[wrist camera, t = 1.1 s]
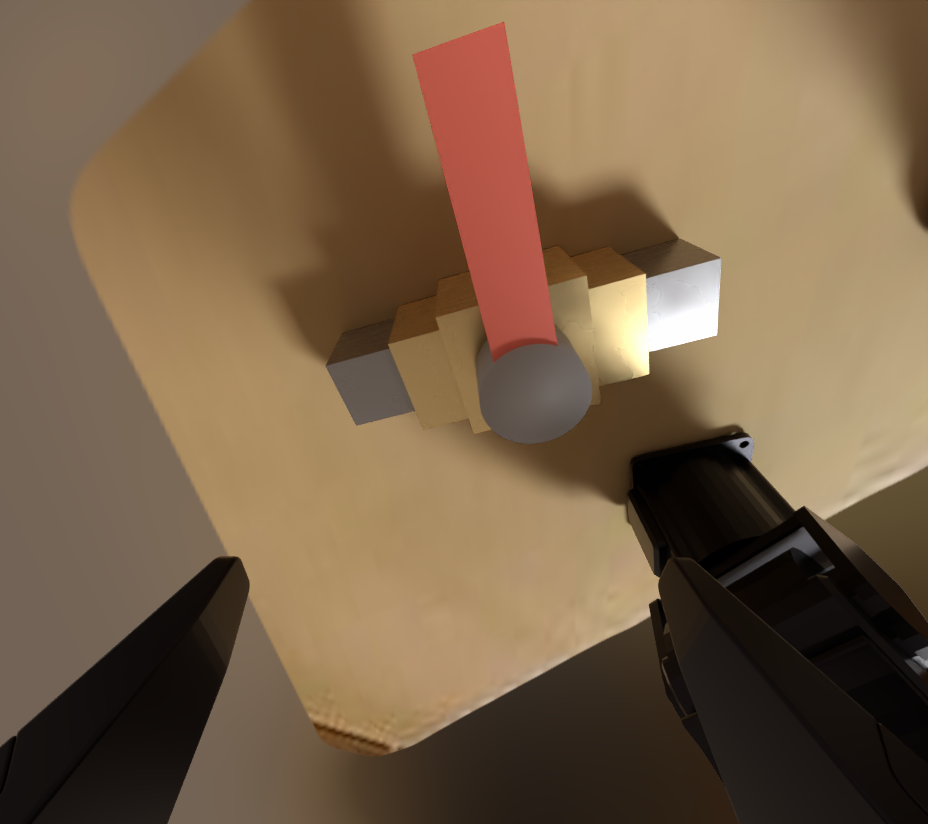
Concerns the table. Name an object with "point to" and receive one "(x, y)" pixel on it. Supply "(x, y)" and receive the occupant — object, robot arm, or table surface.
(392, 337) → the valve pipe
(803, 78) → the table surface
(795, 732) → the robot arm
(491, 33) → the lever
